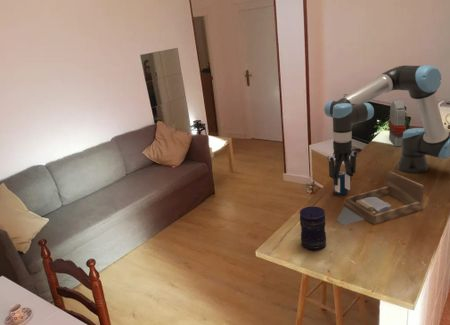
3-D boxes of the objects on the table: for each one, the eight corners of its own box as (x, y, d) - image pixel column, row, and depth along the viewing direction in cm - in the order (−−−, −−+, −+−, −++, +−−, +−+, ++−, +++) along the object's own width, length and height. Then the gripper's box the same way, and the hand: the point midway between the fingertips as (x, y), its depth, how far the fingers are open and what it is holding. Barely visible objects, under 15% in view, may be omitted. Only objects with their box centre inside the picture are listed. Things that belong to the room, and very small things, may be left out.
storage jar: (303, 236, 146) (302, 205, 141) (327, 239, 142) (326, 207, 137) (299, 250, 137) (297, 217, 132) (324, 253, 134) (323, 219, 128)
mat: (342, 205, 167) (342, 204, 167) (364, 219, 152) (364, 219, 152) (323, 210, 164) (323, 210, 164) (343, 225, 150) (343, 225, 150)
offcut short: (361, 204, 160) (361, 199, 160) (372, 211, 153) (373, 206, 152) (356, 205, 160) (356, 200, 159) (367, 212, 152) (367, 207, 152)
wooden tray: (388, 192, 173) (389, 170, 169) (421, 209, 154) (423, 185, 150) (344, 205, 166) (344, 183, 162) (373, 224, 148) (374, 199, 144)
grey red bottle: (404, 147, 229) (407, 102, 219) (394, 147, 231) (396, 103, 221) (397, 138, 247) (399, 97, 237) (387, 139, 249) (389, 98, 239)
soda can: (350, 192, 178) (350, 171, 174) (343, 197, 174) (343, 176, 170) (337, 189, 183) (337, 168, 179) (331, 194, 179) (330, 173, 175)
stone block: (375, 204, 166) (358, 206, 163) (377, 195, 165) (360, 197, 162) (393, 215, 156) (376, 217, 153) (396, 206, 154) (378, 207, 151)
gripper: (354, 134, 152) (353, 182, 159) (319, 142, 147) (320, 191, 155) (365, 138, 145) (364, 188, 153) (329, 146, 141) (330, 197, 148)
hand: (342, 189), depth 154 cm, fingers open, 4 cm apart
